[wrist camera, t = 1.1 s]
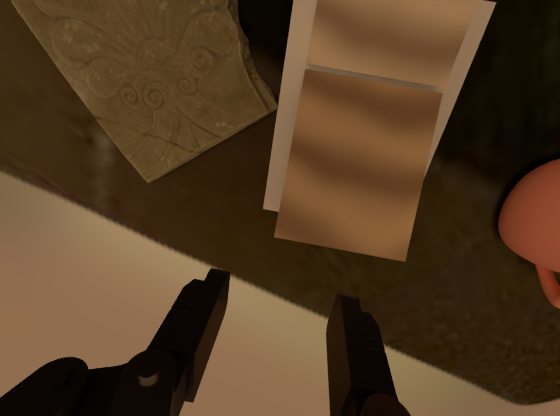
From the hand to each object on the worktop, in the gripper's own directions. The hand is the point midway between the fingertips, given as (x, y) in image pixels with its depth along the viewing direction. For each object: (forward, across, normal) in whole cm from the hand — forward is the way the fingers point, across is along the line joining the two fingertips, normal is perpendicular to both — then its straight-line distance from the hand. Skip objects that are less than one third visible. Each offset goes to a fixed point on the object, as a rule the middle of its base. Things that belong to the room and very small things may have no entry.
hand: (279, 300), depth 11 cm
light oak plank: (+21, -5, -12) cm, 24 cm away
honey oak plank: (+18, -5, 0) cm, 19 cm away
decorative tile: (+23, +15, -7) cm, 28 cm away
